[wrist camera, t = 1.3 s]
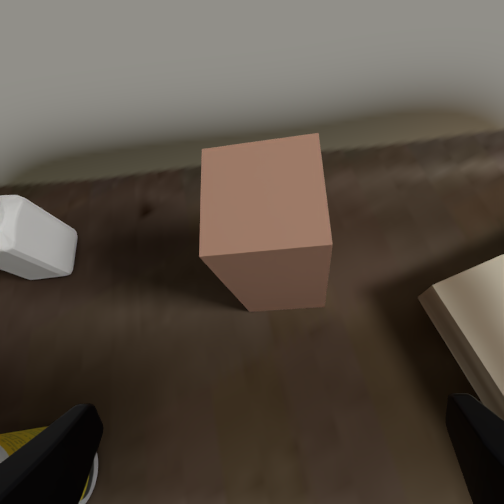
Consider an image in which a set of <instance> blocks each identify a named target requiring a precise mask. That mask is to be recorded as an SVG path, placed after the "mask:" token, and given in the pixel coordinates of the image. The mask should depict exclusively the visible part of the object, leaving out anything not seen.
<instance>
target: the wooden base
mask: <svg viewBox="0 0 504 504" xmlns="http://www.w3.org/2000/svg"><path fill="white" fill-rule="evenodd" d="M417 298H418V300H419V301H420V303H421V305H422V306H423V308H424V309H425V311H426V313H427V314H428V316H429V317H430V319H431V321H432V322H433V324H434V326H435V327H436V329H437V330H438V332H439V334H440V335H441V337H442V338H443V340H444V342H445V343H446V345H447V347H448V348H449V350H450V351H451V353H452V355H453V356H454V358H455V359H456V361H457V363H458V364H459V366H460V368H461V369H462V371H463V372H464V374H465V376H466V377H467V379H468V381H469V382H470V384H471V385H472V387H473V389H474V390H475V392H476V393H477V395H478V397H479V398H480V400H481V402H482V403H483V405H485V406H486V407H487V408H488V409H490V410H491V411H492V412H494V413H495V414H496V415H497V416H499V417H500V418H501V419H503V420H504V254H503V255H500V256H498V257H496V258H493V259H491V260H489V261H486V262H484V263H482V264H480V265H477V266H475V267H473V268H470V269H468V270H466V271H464V272H461V273H459V274H457V275H454V276H452V277H450V278H448V279H445V280H443V281H441V282H438V283H436V284H434V285H432V286H431V287H429V288H428V289H427V290H426V291H425V292H423V293H422V294H421V295H420V296H419V297H417Z"/></svg>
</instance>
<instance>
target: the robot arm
mask: <svg viewBox="0 0 504 504" xmlns="http://www.w3.org/2000/svg"><path fill="white" fill-rule="evenodd" d="M446 426H447V430H448V433H449V436H450V439H451V442H452V444H453V447H454V450H455V453H456V456H457V459H458V462H459V465H460V468H461V471H462V473H463V476H464V479H465V482H466V485H467V488H468V491H469V493H470V496H471V499H472V502H473V504H504V420H503V419H501V418H500V417H499V416H497V415H496V414H495V413H494V412H492V411H491V410H490V409H488V408H487V407H486V406H485V405H483V404H482V403H481V402H479V401H478V400H477V399H476V398H474V397H473V396H472V395H470V394H468V393H452V394H450V395H449V396H448V401H447V410H446ZM102 434H103V424H102V421H101V419H100V417H99V415H98V412H97V410H96V408H95V406H94V405H93V404H78V405H76V406H74V407H73V408H72V409H70V410H69V411H68V412H66V413H65V414H64V415H62V416H61V417H60V418H59V419H57V420H56V421H55V422H53V423H52V424H51V425H49V426H48V427H47V428H45V429H44V430H43V431H42V432H40V433H39V434H38V435H36V436H35V437H34V438H32V439H31V440H30V441H29V442H27V443H26V444H25V445H23V446H22V447H21V448H19V449H18V450H17V451H16V452H14V453H13V454H12V455H10V456H9V457H8V458H6V459H5V460H4V461H2V462H1V463H0V504H79V501H80V499H81V496H82V494H83V491H84V488H85V486H86V483H87V480H88V477H89V473H90V470H91V467H92V464H93V461H94V458H95V455H96V452H97V449H98V446H99V443H100V440H101V437H102Z"/></svg>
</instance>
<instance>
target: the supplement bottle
mask: <svg viewBox="0 0 504 504" xmlns="http://www.w3.org/2000/svg"><path fill="white" fill-rule="evenodd" d="M47 427H48V426H47ZM47 427H41V428H34V429H28V430H23V431H17V432H11V433H5V434H0V463H1V462H2V461H4V460H5V459H6V458H8V457H9V456H10V455H12V454H13V453H14V452H16V451H17V450H18V449H19V448H21V447H22V446H23V445H25V444H26V443H27V442H29V441H30V440H31V439H32V438H34V437H35V436H36V435H38V434H39V433H40V432H42V431H43V430H44V429H45V428H47ZM97 474H98V455H97V452H96V455H95V458H94V461H93V464H92V467H91V470H90V473H89V477H88V480H87V483H86V486H85V488H84V491H83V494H82V496H81V499H80V501H79V504H86V502H87V501H88V499H89V497H90V496H91V494H92V491H93V489H94V486H95V483H96V479H97Z"/></svg>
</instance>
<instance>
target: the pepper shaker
mask: <svg viewBox="0 0 504 504" xmlns="http://www.w3.org/2000/svg"><path fill="white" fill-rule="evenodd" d="M77 238H78V236H77V232H76V231H75V230H74V229H73V228H71V227H70V226H68V225H67V224H65V223H63V222H62V221H60V220H59V219H57V218H55V217H54V216H52V215H51V214H49V213H48V212H46V211H44V210H43V209H41V208H40V207H38V206H37V205H35V204H33V203H32V202H30V201H29V200H27V199H26V198H24V197H21V196H18V195H2V196H0V269H1V270H4V271H6V272H9V273H12V274H15V275H18V276H20V277H23V278H26V279H29V280H35V279H44V278H52V277H60V276H68V275H70V274H71V273H72V271H73V267H74V260H75V253H76V245H77Z"/></svg>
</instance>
